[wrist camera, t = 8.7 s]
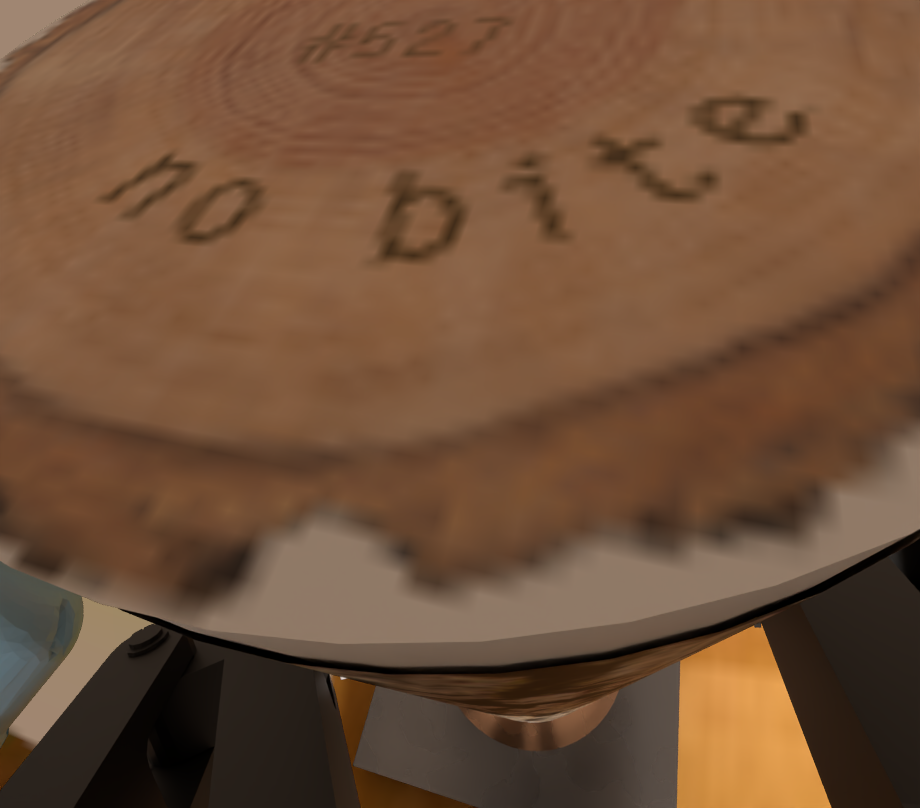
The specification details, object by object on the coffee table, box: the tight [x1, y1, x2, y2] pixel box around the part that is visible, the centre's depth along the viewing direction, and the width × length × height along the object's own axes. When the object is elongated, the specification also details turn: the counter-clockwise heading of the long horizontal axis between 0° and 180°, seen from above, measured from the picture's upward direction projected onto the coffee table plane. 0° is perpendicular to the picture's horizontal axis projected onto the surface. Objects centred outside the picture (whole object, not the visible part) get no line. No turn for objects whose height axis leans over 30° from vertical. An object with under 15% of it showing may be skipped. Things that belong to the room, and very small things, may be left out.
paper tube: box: [0, 0, 920, 722], centre depth 13 cm, size 7×7×25 cm
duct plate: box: [353, 661, 680, 808], centre depth 26 cm, size 14×14×2 cm
